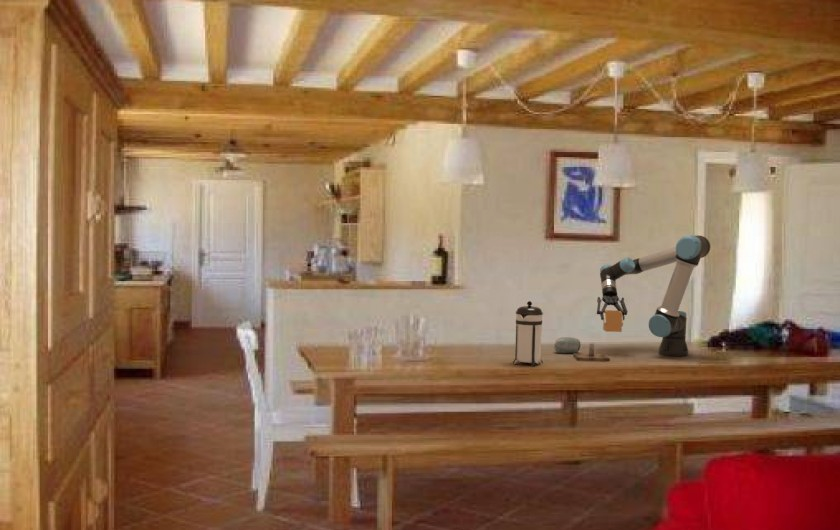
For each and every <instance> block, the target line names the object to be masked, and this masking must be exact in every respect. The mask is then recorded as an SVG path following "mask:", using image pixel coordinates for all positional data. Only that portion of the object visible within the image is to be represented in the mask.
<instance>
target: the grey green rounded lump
mask: <svg viewBox="0 0 840 530" xmlns="http://www.w3.org/2000/svg"><path fill="white" fill-rule="evenodd" d="M553 348H554V351H555V352H556V353H557V354H574V353H578V352H579V351H580V349H581V340H580V339H579V338H576V337H569V336H568V337H560V338H557V339H556V340H555V342H554V347H553Z"/></svg>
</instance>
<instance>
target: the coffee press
mask: <svg viewBox="0 0 840 530" xmlns="http://www.w3.org/2000/svg"><path fill="white" fill-rule="evenodd" d="M526 303H527V306H526V305H524V306H519V307H518V308H517V310H516V311H515V315H516V316H515V317H516V319H515V355H514V359H513V361H512V364H513V363H514V364H515V363H516V365H517V364H518V363H525V364H526V363H527V364H530V366H531V367H535V366H536V363H538V364H540V365H542V364H543V363H544V361H543V359H542V357H541V356H542V330H543V329H542V328H543V326H542V325H543V315H544V312H543V311H542V309H541V308H540V307H538V306H532V305H533V303H532V301H530V300H529V301H527V302H526ZM541 363H542V364H541Z"/></svg>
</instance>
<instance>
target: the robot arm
mask: <svg viewBox="0 0 840 530" xmlns="http://www.w3.org/2000/svg"><path fill="white" fill-rule="evenodd" d="M710 250H711V242H710V241H709V239H708V238H707V237H705V236H703V235H692V234H688V235H685V236H682V237H681V238H680V239H679V240H677V242H676V244H675V247H672V248H668V249H665V250H661V251H658V252H655V253H652V254H648V255H644V256H642V257H639V258H635V259H632V258H631V257H629V256H627V257H624V258H623V259H620V261H618V262H616V263H614V264H613V265H612V264H606V265H605V264H604V265H602V266H601V267H600V270H599V276H600V282H601V283H600V284H601V292H602V297H600V296H598V297H597V299H596V301H597V308H596V315H599V316H600V319H601V321H603V323H604V326H605V325H606V318H605V313H604V310H606V309H607V307H608V306H614V308H615V309H616V311H621V312H622V327H623V326H624V321H625V316H627V315H628V309H627V307H626V306H627V305H626V304H625V298H624V297H622V298H621V297H619V296H618V290H617V283H616V280H619V279H620V278H622V277H623V276H624V277H625V276H626V275H627V276H628V275H638V274H641V273H644V272H646V271H650V270H653V269H657V268H661V267H663V266H668V265H671V264H674V263H675V267H674V269H673V273H672V274H671V277H670V281H669V284H668V286H667V288H666V291H665V294H664V298H663V300H662V302H661V305H660V306H658V307H656V310H655V313H654V314H653V315H652V316H651V317H650V318H649V321H648V329H649V331H650V333H651V334H652V335H653V336H655V337H658V338H662V339H661V341H660V344H659V348H658V354H659V355H661V354H662V355H663V356H667V355H673V356H672V357H684V356H683V355H688V356H689V353H690V352H689V348H688V344H687V341H686V339H687V338H686V334H687V332H686V331H687V320H688V319H687V312H685V311H682V310H679V309H680V306H681V304H682V301H683V298H684V296H685V293H686V290H687V287H688V284H689V282H690V279H691V276H692V274H693V270H694V269H695V267H698V266H699V264H700V261H701V259H703V258H705V257H707V256H708V255H709V253H710ZM602 301H603V302H604V304H603V306H602V308H601V303H602ZM619 303H620V304H619Z"/></svg>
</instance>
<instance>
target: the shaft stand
mask: <svg viewBox="0 0 840 530" xmlns="http://www.w3.org/2000/svg"><path fill="white" fill-rule="evenodd" d="M588 346H589V347H588V348H589V349H588V351H589V352H588V353H578V352H577V353H573V358H574V359H575V360H576V361H577V362H578V361H579V362H580V361H581V362H607V361H610V362H611V358H610V356H608V355H607V354H606V353H605V354H603V353H595V343H589V345H588Z"/></svg>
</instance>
